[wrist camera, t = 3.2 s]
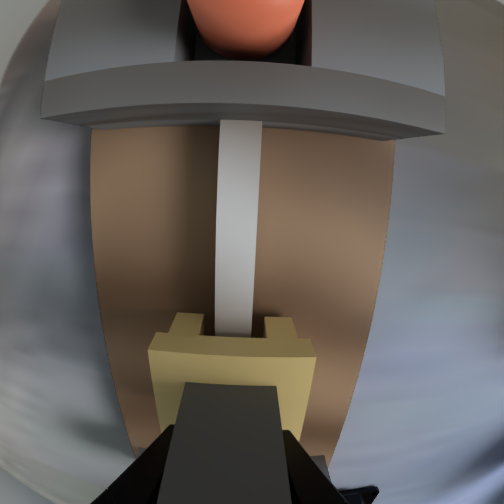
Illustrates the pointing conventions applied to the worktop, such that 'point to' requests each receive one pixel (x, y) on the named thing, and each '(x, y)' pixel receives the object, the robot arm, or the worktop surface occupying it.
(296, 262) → the rail board
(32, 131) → the worktop surface
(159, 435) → the robot arm
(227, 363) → the carriage
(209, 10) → the orange ball
